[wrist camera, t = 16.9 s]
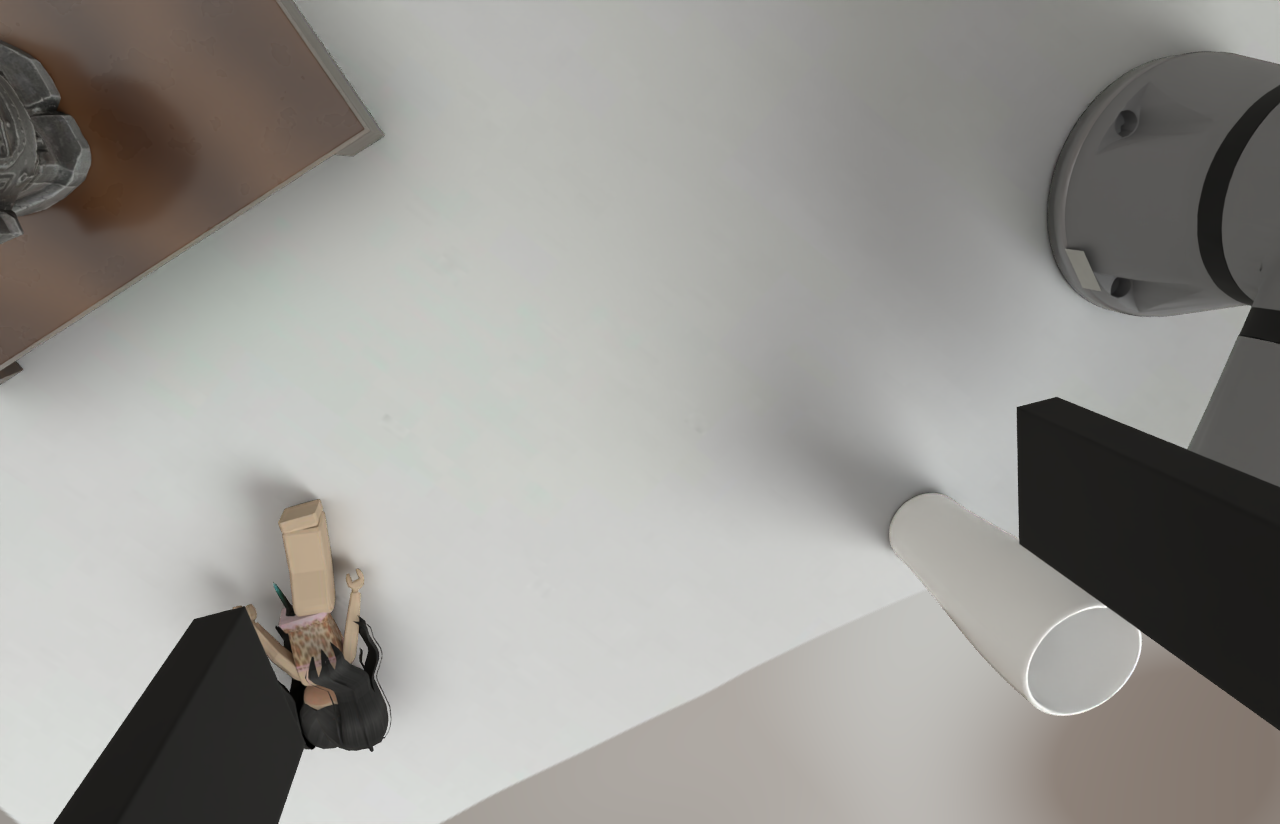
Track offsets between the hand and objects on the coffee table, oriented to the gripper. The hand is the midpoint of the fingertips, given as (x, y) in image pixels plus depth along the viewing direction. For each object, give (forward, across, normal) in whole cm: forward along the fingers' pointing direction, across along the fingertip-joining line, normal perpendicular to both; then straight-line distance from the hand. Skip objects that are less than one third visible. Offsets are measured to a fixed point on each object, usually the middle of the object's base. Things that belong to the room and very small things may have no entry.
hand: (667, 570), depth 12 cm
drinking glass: (+31, -21, +21) cm, 43 cm away
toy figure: (+31, +18, +16) cm, 39 cm away
